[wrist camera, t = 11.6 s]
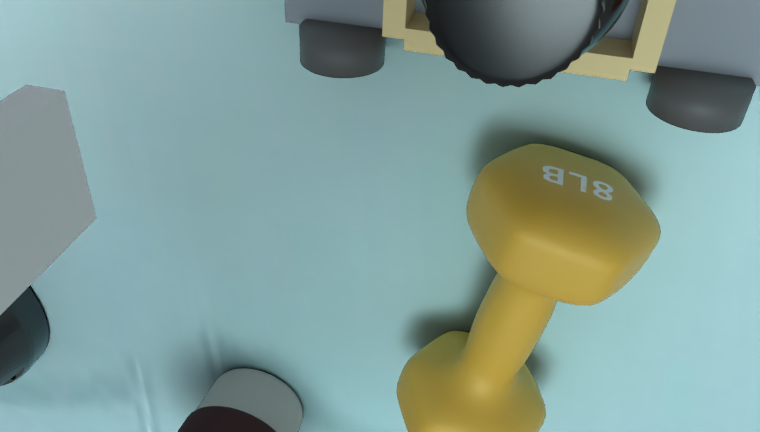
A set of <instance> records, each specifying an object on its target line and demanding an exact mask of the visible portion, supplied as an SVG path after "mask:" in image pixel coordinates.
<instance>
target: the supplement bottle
mask: <svg viewBox="0 0 760 432" xmlns="http://www.w3.org/2000/svg"><path fill="white" fill-rule="evenodd" d="M421 2H422V4H423V7H424V9H425V15H426V17H427V18H428V20H429V30H430V32H431V33H432V34H433V35H434V36H435V41H436V45H437V46H438V47H439V48H440V49H442V50H443V52H444V55H445V57H446V58H447V59H448V60H450V61H452V62H454V64H455V66H456V67H457V69H459V70H461V71H465V72H466V73H467V74H468V75H469V76H470V77H471V78H476V79H481V80H482V81H483V82H485V83H486V84H492V83H495V84H498V85H499V86H502V87H504V86H509V85H513V86H516V87H520V86H523V85H525V84H537V83H538V82H540V81H541V80H542V79H551V78H552V77H554V76H555V74H556V73H557V72H561V71H564V70H566V69H567V68H568V67H569V65H570V63H571V62H573V61H575V60H577V59H579V58H580V56H581V55H583V54H584V53H586V52H587V51H589V50H590V49H591V48H592V47H594V46H595V45H596V44H598V43H599V42H600V41H601V40H602V39H603V38H604V37H605V36H606V35H607V34H608V33H609V31H610V30H611V29H612V28H613V27H614V25H615V24H616V23H617V21H618V20H619V19H620V17H621V15H622V14H623V12H624V10H625V9H626V7H627V5H628V3H629V0H421Z"/></svg>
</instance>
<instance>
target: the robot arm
mask: <svg viewBox="0 0 760 432" xmlns="http://www.w3.org/2000/svg"><path fill="white" fill-rule="evenodd" d="M95 219H96V214H95V210H94V206H93V202H92V198H91V194H90V190H89V186H88V182H87V178H86V174H85V170H84V167H83V163H82V159H81V155H80V151H79V147H78V143H77V139H76V135H75V131H74V127H73V123H72V119H71V115H70V111H69V107H68V103H67V99H66V95H65V91H62V90H55V89H49V88H43V87H36V86H30V85H25V86H23V87H22V88H20V89H18V90H17V91H15V92H14V93H12V94H11V95H9V96H8V97H6V98H5V99H3V100H2V101H0V386H2V385H6V384H9V383H11V382H13V381H15V380H16V379H18V378H20V377H21V376H22V375H23V374H25V373H26V372H27V371H28V370H29V369H30V367H31V366H32V365H33V364H34V363H35V362H36V360H37V359H38V358H39V357H40V356H41V355H42V354H43V352H44V351H45V349H46V347H47V344H48V338H49V331H48V324H47V320H46V317H45V315H44V312H43V310H42V308H41V306H40V304H39V302H38V300H37V299H36V297H35V295H34V294H33V292H32V291H31V290H30V288H29V286H30V285H31V284H32V283H33V282H34V281H35V280H36V279H37V278H38V277H39V276H40V275H41V274H42V273H43V272H44V271H45V270H46V269H47V268H48V267H49V266H50V265H51V264H52V263H53V262H54V261H55V260H56V259H57V257H58V256H59V255H60V254H61V253H62V252H63V251H64V250H65V249H66V248H67V247H68V246H69V245H70V244H71V243H72V242H73V241H74V240H75V239H76V238H77V237H78V236H79V235H80V234H81V233H82V232H83V231H84V230H85V229H86V228H87V227H88V226H89V225H90V224H91V223H92V222H93V221H94V220H95Z"/></svg>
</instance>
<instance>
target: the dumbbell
mask: <svg viewBox="0 0 760 432" xmlns="http://www.w3.org/2000/svg"><path fill="white" fill-rule="evenodd" d="M466 212H467V220H468V223H469V226H470V228H471V231H472V233H473V235H474V237H475V239H476V241H477V243H478V244H479V246H480V248H481V250H482V251H483V253H484V255H485V256H486V258H487V259H488V261H489V262H490V264H491V265H492V266H493V268H494V269H495V270H496V271H497V272H498V273H497V274H496V276H495V277H494V279H493V281H492V283H491V285H490V287H489V289H488V291H487V292H486V294H485V296H484V298H483V300H482V302H481V304H480V307H479V309H478V311H477V314H476V316H475V319H474V321H473V324H472V327H471V330H470V332H469V333H468V332H464V331H457V330H455V331H449V332H447V333H445V334H443V335H441V336H439V337H438V338H436V339H435V340H433V341H432V342H430V343H429V344H427V345H426V346H425V347H423V348H422V349H421V350H420V351H418V352H417V353H416V354H415V355H413V356H412V357H411V358H410V359H409V360H408V362H407V363H406V365H405V366H404V368H403V370H402V372H401V375H400V377H399V380H398V383H397V397H398V402H399V405H400V409H401V412H402V415H403V418H404V421H405V424H406V427H407V430H408V432H538V431H539V430H540V428H541V426H542V425H543V422H544V419H545V415H546V412H545V404H544V401H543V398H542V396H541V393H540V391H539V388H538V386H537V384H536V382H535V380H534V378H533V376H532V374H531V372H530V370H529V369H528V367H527V366H526V364H525V362H526V360H527V359H528V357H529V356H530V354H531V352H532V351H533V349H534V347H535V345H536V344H537V342H538V340H539V338H540V337H541V335H542V333H543V331H544V329H545V327H546V325H547V323H548V321H549V319H550V317H551V315H552V313H553V311H554V308H555V305H556V303H557V301H560V302H564V303H568V304H574V305H594V304H597V303H599V302H601V301H603V300H605V299H607V298H608V297H610V296H611V295H613V294H614V293H616V292H617V291H618V290H619V289H621V288H622V287H623V286H624V285H625V284H626V283H627V282H629V281H630V279H631V278H632V277H633V276H634V275H635V274H636V273H637V272H638V271H639V270H640V269H641V267H642V266H643V264H644V263H645V262H646V260H647V259H648V257H649V256H650V254H651V253H652V251H653V249H654V248H655V246H656V244H657V243H658V240H659V238H660V233H661V231H660V225H659V223H658V220H657V219H656V217H655V215H654V213H653V212H652V210H651V209H650V207H649V206H648V205H647V204H646V202H645V201H644V200H643V199H642V197H641V196H640V195H639V194H638V193H637V191H636V190H635V189H634V188H633V186H632V185H631V184H630V183H629V182H628V181H627V179H626V178H625V177H624V176H623V175H622V174H621V173H619V172H618V171H617V170H615V169H614V168H612V167H610V166H608V165H606V164H604V163H601V162H599V161H596V160H594V159H591V158H588V157H585V156H582V155H579V154H576V153H573V152H570V151H567V150H564V149H561V148H557V147H553V146H549V145H545V144H538V143H536V144H528V145H524V146H521V147H518V148H516V149H513V150H511V151H509V152H507V153H505V154H503V155H501V156H499V157H497V158H495V159H493V160H492V161H490V162H489V163H488V164H486V165H485V166H484V167H483V168H482V169H481V170H480V172H479V174H478V175H477V177H476V180H475V182H474V185H473V187H472V190H471V192H470V195H469V198H468V202H467V208H466Z"/></svg>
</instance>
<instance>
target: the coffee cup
mask: <svg viewBox="0 0 760 432" xmlns="http://www.w3.org/2000/svg"><path fill="white" fill-rule="evenodd" d="M302 417H303V410H302V406H301V403H300V401H299V399H298V397H297V395H296V394H295V393H294V392H293V391H292V390H291V389H290V388H289V387H288V386H287V385H286V384H285V383H283V382H282V381H281V380H279V379H278V378H276V377H274V376H272V375H270V374H267V373H265V372H262V371H259V370H254V369H246V368H241V369H234V370H230V371H227V372H225V373H224V374H222V375H221V376H220V377H219V378H218V379H217V380H216V381H215V383H214V384H213V386H212V387H211V389H210V390H209V392H208V393H207V395H206V396H205V397H204V399H203V400H202V402H201V403H200V405H199V406H198V408H197V409H196V410H195V411H194V412H192V413H191V414H190V415H189V416H188V417H187V419H186V420H185V422H184V423H183V425H182V426H181V427H180V429H179V430H178V432H298V431H299V428H300V425H301V422H302Z"/></svg>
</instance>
